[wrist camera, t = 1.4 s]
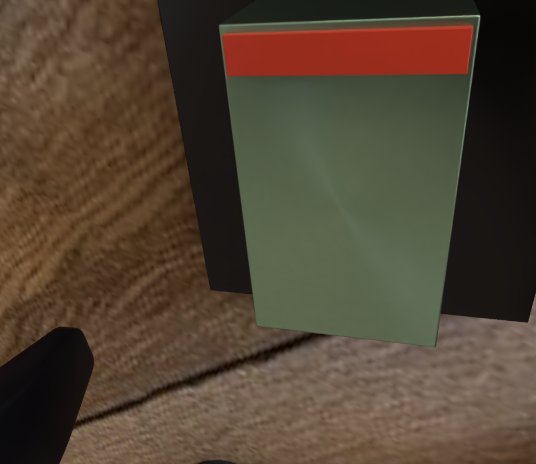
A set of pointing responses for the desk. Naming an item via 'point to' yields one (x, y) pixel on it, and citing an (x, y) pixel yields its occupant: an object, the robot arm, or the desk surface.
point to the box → (349, 158)
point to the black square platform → (471, 170)
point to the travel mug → (216, 462)
